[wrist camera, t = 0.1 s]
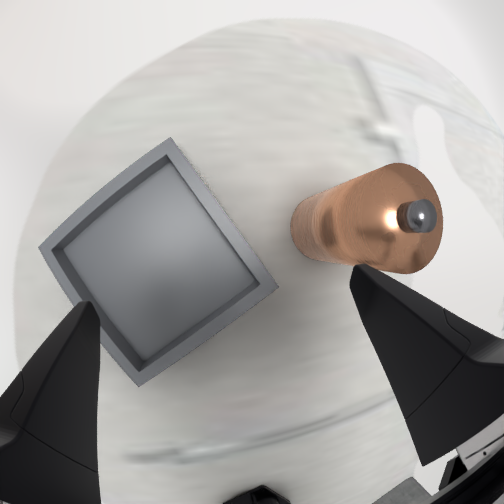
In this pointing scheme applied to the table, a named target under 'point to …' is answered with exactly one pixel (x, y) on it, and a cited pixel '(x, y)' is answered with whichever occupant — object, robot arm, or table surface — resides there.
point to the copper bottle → (373, 221)
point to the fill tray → (156, 263)
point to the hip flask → (405, 494)
